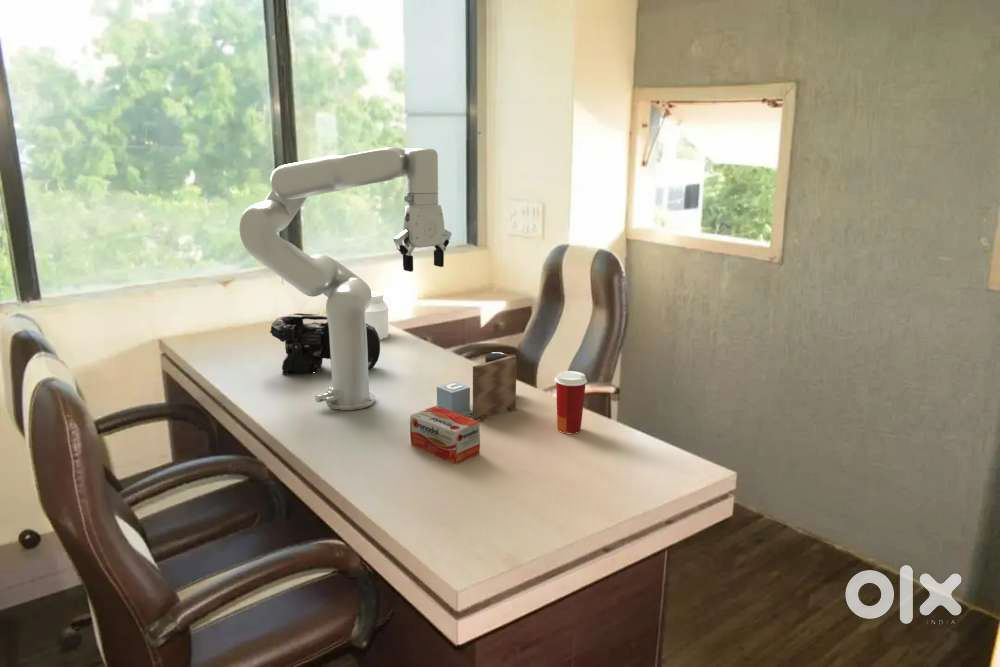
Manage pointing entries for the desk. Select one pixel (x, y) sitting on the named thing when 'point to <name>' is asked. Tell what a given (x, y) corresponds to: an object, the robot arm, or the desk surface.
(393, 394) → the desk surface
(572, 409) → the paper cup
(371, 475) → the desk surface
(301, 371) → the movie camera
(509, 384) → the screen
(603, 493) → the desk surface
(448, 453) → the medicine box
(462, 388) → the letter cube
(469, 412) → the pad
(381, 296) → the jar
